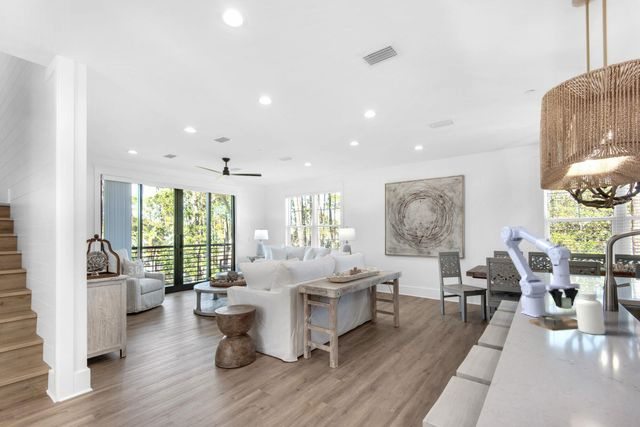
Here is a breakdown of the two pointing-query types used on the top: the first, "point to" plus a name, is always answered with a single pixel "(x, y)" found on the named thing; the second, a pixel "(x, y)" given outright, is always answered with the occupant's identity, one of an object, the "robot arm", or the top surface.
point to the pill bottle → (589, 314)
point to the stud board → (555, 322)
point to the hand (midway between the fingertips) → (564, 306)
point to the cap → (566, 303)
